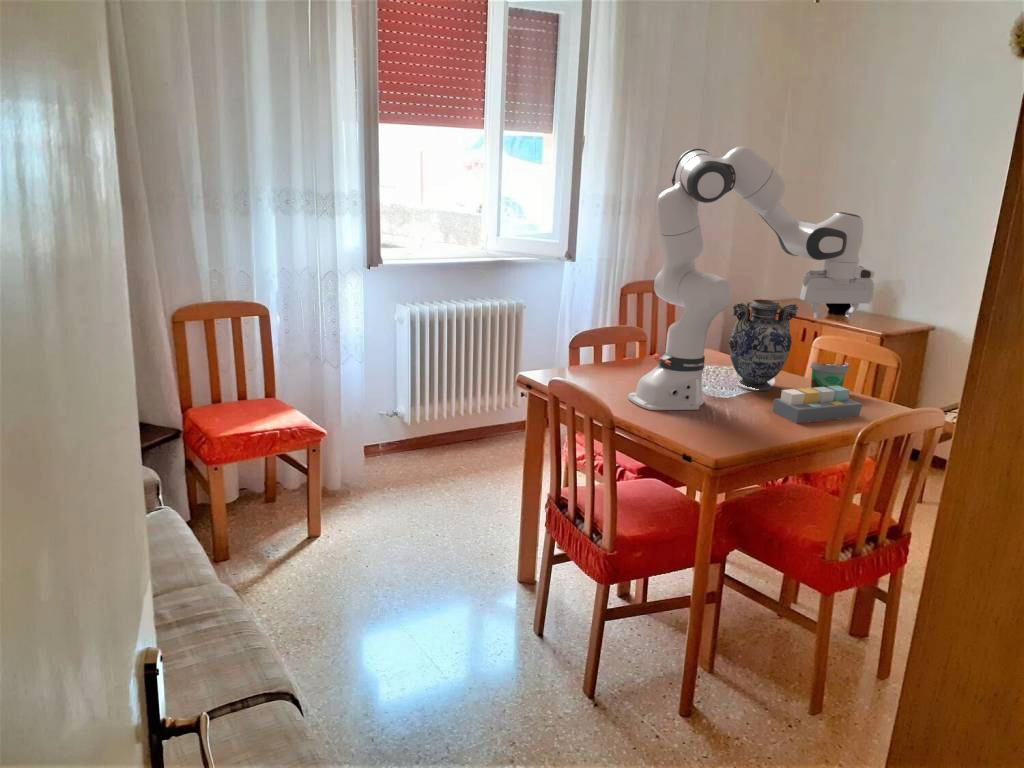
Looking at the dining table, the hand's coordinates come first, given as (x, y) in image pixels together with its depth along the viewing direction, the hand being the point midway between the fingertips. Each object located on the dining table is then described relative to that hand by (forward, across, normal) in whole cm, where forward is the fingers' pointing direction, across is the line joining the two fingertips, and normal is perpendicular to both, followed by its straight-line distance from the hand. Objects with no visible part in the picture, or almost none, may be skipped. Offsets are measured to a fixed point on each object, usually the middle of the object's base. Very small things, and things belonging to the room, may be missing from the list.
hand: (832, 318), depth 217 cm
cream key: (+23, -13, -9) cm, 28 cm away
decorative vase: (+27, -13, +19) cm, 36 cm away
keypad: (+27, -5, -8) cm, 28 cm away
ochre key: (+23, -8, -7) cm, 26 cm away
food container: (+28, +9, +12) cm, 32 cm away
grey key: (+24, -2, -5) cm, 24 cm away
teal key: (+24, +3, -4) cm, 24 cm away
